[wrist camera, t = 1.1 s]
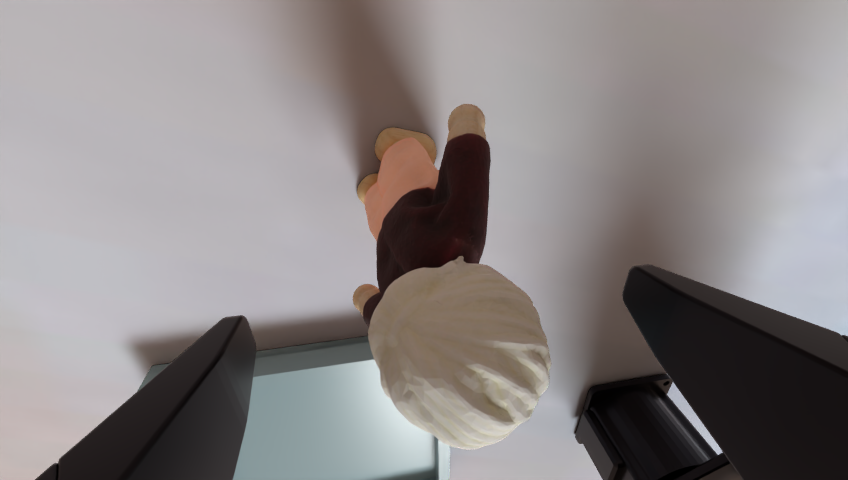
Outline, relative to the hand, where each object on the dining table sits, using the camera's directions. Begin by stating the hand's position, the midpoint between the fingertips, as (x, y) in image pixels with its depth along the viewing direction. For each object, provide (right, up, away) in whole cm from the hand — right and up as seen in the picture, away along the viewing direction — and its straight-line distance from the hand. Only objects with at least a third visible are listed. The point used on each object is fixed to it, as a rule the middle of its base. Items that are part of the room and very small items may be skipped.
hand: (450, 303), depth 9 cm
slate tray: (-7, -11, +16) cm, 21 cm away
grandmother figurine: (-2, +5, +8) cm, 10 cm away
